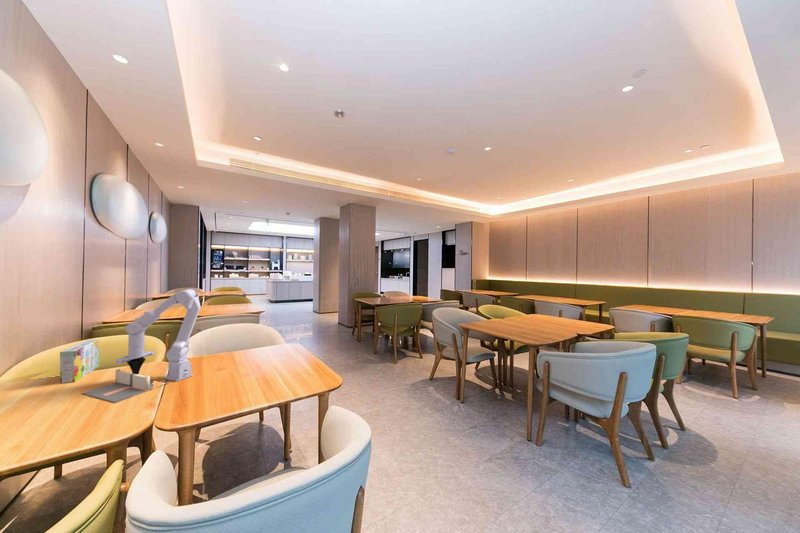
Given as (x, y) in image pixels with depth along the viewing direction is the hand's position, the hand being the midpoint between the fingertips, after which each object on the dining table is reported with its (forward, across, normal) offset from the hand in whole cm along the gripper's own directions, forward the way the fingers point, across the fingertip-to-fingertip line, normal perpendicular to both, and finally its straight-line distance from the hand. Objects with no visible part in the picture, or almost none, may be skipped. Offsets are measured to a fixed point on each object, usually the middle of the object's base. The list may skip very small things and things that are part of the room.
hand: (135, 374), depth 138 cm
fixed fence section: (+2, +5, +13) cm, 14 cm away
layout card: (+3, +7, +7) cm, 11 cm away
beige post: (+2, +5, +2) cm, 6 cm away
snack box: (+3, +5, -31) cm, 32 cm away
